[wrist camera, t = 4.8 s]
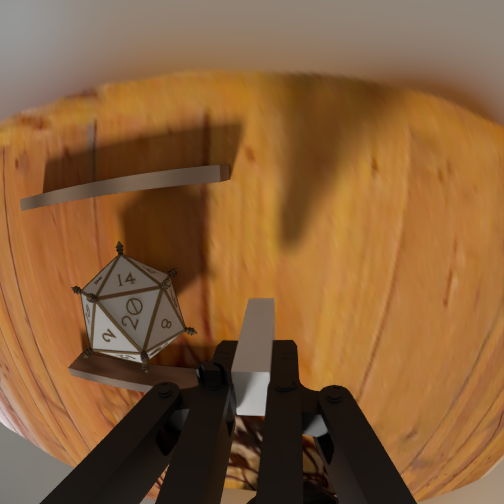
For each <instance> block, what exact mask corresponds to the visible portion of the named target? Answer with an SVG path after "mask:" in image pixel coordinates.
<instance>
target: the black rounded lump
mask: <svg viewBox="0 0 504 504" xmlns="http://www.w3.org/2000/svg"><path fill="white" fill-rule="evenodd" d="M255 501H256V496H255V497H254V498H252V499H251V500H250V501H249V502H248V503H247V504H255ZM303 504H340V503H339V501H338V498H337V497H335V496H333V495H331V494H330V493H328V492H326V491H325V490H324V488H323V484H322V483H321V482H318V481H316V480H313V479H306V480H304V481H303Z"/></svg>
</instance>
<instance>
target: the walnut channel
mask: <svg viewBox="0 0 504 504" xmlns="http://www.w3.org/2000/svg"><path fill="white" fill-rule="evenodd" d="M226 180H230V175H229V165H210V166H200V167H191V168H182V169H173V170H166V171H158V172H151V173H144V174H138V175H131V176H125V177H119V178H113V179H108V180H102V181H97V182H92V183H87V184H82V185H78V186H73V187H68V188H64V189H60V190H55V191H51V192H47V193H43V194H39V195H35V196H31V197H28V198H24V199H20V203H21V211H24V210H28V209H33V208H37V207H42V206H47V205H52V204H57V203H62V202H67V201H73V200H78V199H84V198H90V197H96V196H102V195H109V194H115V193H122V192H129V191H137V190H144V189H153V188H161V187H170V186H180V185H190V184H201V183H213V182H222V181H226ZM83 356H84V353H83V352H82V353H81V354H80V355H79V356H78V358H77V359H76V360H75V361H74V362H73V363H72V364H71V365H70V366H69V367H68V369H69V371H70V373H71V375H73V376H76V377H80V378H83V379H87V380H91V381H95V382H99V383H103V384H107V385H111V386H116V387H120V388H125V389H130V390H135V391H141V392H146V393H147V392H148V391H149V390H150V389H151V388H152V387H153V386H155V385H156V384H158V383H161V382H173V383H175V384H177V385H178V387H179V388H180V389H184V388H191V387H195V386H197V385H198V384H199V383H198V379H197V374H196V370H195V369H192V368H181V367H171V366H162V365H154V364H147V365H148V367H149V370H148V372H147V373H146V372H145V371H144V370H142V369H143V368H142V367H141V366H142V364H141V363H137V362H132V361H126V360H120V359H114V358H108V357H103V356H97V355H91V356H90V358H89V357H88V358H83Z"/></svg>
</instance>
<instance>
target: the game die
mask: <svg viewBox="0 0 504 504" xmlns="http://www.w3.org/2000/svg"><path fill="white" fill-rule="evenodd" d="M116 248H117V250H116V251H117V252H118V255H117V256H116V257H115V258H114V259H113V260H112V261H111V262H110V263H109V264H108V265H107V266H106V267H105V268H103V269H102V270H101V271H100V272H99V273H98V274H97V275H96V276H95V277H94V278H93V279H92V280H91V281H90V282H89V283H88V284H87V285H86V286H85V287H84V288H83V289H82V290H81V289H80V287H77V286H75V287H71V288H72V290H73V291H74V293H77V294H81V301H82V307H83V314H84V319H85V325H86V330H87V335H88V340H89V345H90V348H89V349H86V351H84V356H83V358H88V357H89V358H90V356H91V355H92V353H93V352H97V353H101V354H105V355H108V356H112V357H116V358H120V359H124V360H128V361H133V362H137V363H141V364H142V366H141V367H142V368H143V369H142V370H144V371H145V372H146V373H147V372H148V370H149V367H148V365H147V363H148V362H149V360H150V359H152V358H153V357H154V356H155V355H157V354H158V353H159V352H160V351H161V350H163V349H164V348H165V347H166V346H168V345H169V344H170V343H171V342H173V341H174V340H175V339H176V338H178V337H179V336H180V335H181V334H183V333H184V332H186V333H188V334H191V336H192V335H193V334H197V332H196V331H195V330H194V328H191V327H190V328H187V327H186V326H185V323H184V320H183V317H182V313H181V310H180V307H179V304H178V300H177V297H176V293H175V290H174V286H173V283H172V279H171V277H174V275H176V273H177V269H171V271H169V273H168V274H167V273H164V272H162V271H160V270H158V269H155V268H153V267H151V266H149V265H146V264H144V263H142V262H140V261H138V260H135V259H133V258H131V257H129V256H127V255H125V254H123V250H124V249H123V245H122V244H121V243H120V242H119V241H118V244H117V246H116Z"/></svg>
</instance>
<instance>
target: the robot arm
mask: <svg viewBox="0 0 504 504" xmlns="http://www.w3.org/2000/svg"><path fill="white" fill-rule="evenodd" d="M195 370H196V374H197V379H198V383H199V384H198V385H197V386H195V387H191V388H184V389H180V388H179V387H178V385H177V384H175V383H173V382H161V383H158V384H156V385H155V386H153V387H152V388H151V389H150V390H149V391H148V392H147V393H146V394H145V396H144V397H143V398H142V399H141V400H140V401H139V402H138V403H137V404H136V405H135V406H134V407H133V408H132V409H131V410H130V412H129V413H128V414H127V415H126V416H125V417H124V418H123V419H122V420H121V421H120V422H119V423H118V424H117V425H116V426H115V427H114V428H113V429H112V430H111V431H110V433H109V434H108V435H107V436H106V437H105V438H104V439H103V440H102V441H101V442H100V443H99V444H98V445H97V446H96V447H95V448H94V449H93V450H92V451H91V452H90V453H89V454H88V455H87V456H86V457H85V458H84V459H83V460H82V461H81V463H80V464H79V465H78V466H77V467H76V468H75V469H74V470H73V471H72V472H71V473H70V474H69V475H68V476H67V477H66V478H65V479H64V480H63V481H62V482H61V483H60V484H59V485H58V486H57V487H56V488H55V489H54V490H53V491H52V492H51V493H50V494H49V495H48V496H47V497H46V498H45V499H44V500H43V501H42V502H41V503H40V504H140V502H141V501H142V500H143V498H144V497H145V496H146V494H147V493H148V492H149V490H150V489H151V488H152V486H153V485H154V484H155V482H156V481H157V480H158V478H159V477H160V476H161V474H162V473H163V471H164V470H165V469H166V467H167V466H168V465H169V466H168V469H167V472H166V475H165V478H164V480H163V483H162V486H161V489H160V491H159V494H158V497H157V500H156V503H155V504H220V502H221V497H222V492H223V487H224V482H225V477H226V472H227V467H228V462H229V456H230V451H231V446H232V441H233V436H234V430H235V425H236V421H235V413H236V410H237V415H259V416H265V418H264V429H263V439H262V448H261V458H260V467H259V476H258V484H257V493H256V501H255V504H303V446H302V434H305V435H310V436H313V439H314V441H315V444H316V446H317V449H318V451H319V454H320V456H321V459H322V461H323V464H324V466H325V469H326V471H327V474H328V476H329V479H330V481H331V484H332V486H333V489H334V491H335V494H336V496H337V498H338V501H339V503H340V504H417V503H416V501H415V499H414V498H413V496H412V494H411V493H410V491H409V489H408V488H407V486H406V484H405V482H404V481H403V479H402V477H401V476H400V474H399V472H398V471H397V469H396V467H395V466H394V464H393V462H392V461H391V459H390V457H389V456H388V454H387V452H386V451H385V449H384V447H383V446H382V444H381V442H380V441H379V439H378V437H377V436H376V434H375V432H374V431H373V429H372V427H371V426H370V424H369V422H368V421H367V419H366V417H365V416H364V414H363V413H362V411H361V409H360V408H359V406H358V404H357V403H356V401H355V399H354V398H353V396H352V394H351V393H350V392H349V391H348V389H347V388H344V387H342V386H338V385H331V386H327V387H324V388H323V389H322V390H321V391H320V392H319V391H314V390H310V389H308V388H306V387H304V386H303V385H302V384H301V383H300V380H299V369H298V352H297V345H296V344H295V342H294V341H293V340H275V302H274V298H251V299H249V300H248V304H247V308H246V312H245V316H244V320H243V324H242V329H241V333H240V337H239V341H227V340H223V341H222V342H221V343H220V344H219V345H218V346H217V348H216V351H215V354H214V356H213V359H212V361H206V362H203V363H201V364H200V365H198V366H197V368H196V369H195ZM169 463H170V464H169Z"/></svg>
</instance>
